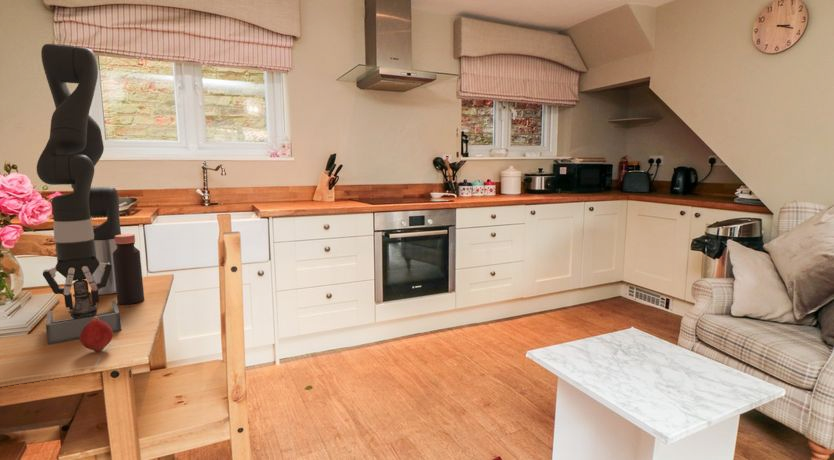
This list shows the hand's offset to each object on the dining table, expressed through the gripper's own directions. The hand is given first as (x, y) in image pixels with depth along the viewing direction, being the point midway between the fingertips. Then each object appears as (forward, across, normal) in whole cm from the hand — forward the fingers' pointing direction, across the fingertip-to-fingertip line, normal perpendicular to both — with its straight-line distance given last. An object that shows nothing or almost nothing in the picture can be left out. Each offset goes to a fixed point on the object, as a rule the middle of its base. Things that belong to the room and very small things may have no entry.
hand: (82, 306), depth 110 cm
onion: (+6, -2, +18) cm, 19 cm away
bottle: (+6, -11, -19) cm, 23 cm away
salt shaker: (+5, 0, 0) cm, 5 cm away
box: (+6, 0, 0) cm, 6 cm away
